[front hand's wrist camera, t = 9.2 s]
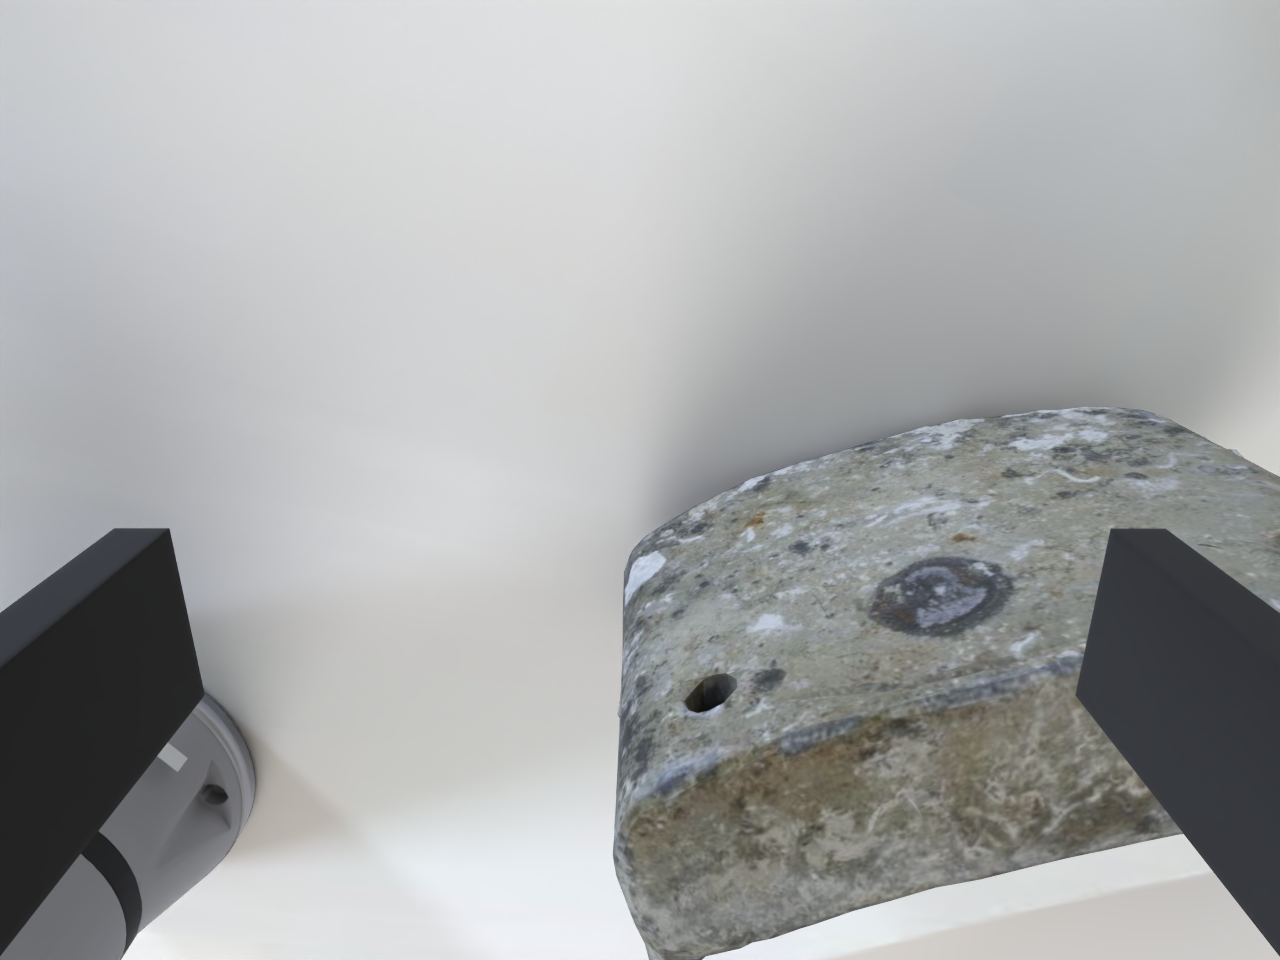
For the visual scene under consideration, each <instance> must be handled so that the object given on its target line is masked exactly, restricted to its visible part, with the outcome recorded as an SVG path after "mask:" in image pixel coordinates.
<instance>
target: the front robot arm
mask: <svg viewBox="0 0 1280 960" xmlns="http://www.w3.org/2000/svg"><path fill="white" fill-rule="evenodd" d="M1075 696H1076V697H1077V698H1078V699H1079V701H1080V702H1081V703H1082V705H1083V706H1084V707H1085V708H1086V710H1087V711H1088V712H1089V714H1090V715H1091V716H1092V717H1093V719H1094V720H1095V721H1096V722H1097V724H1098V725H1099V726H1100V728H1101V729H1102V730H1103V731H1104V733H1105V734H1106V735H1107V737H1108V738H1109V739H1110V740H1111V742H1112V743H1113V744H1114V745H1115V747H1116V748H1117V749H1118V751H1119V752H1120V753H1121V754H1122V756H1123V757H1124V758H1125V759H1126V761H1127V762H1128V763H1129V765H1130V766H1131V767H1132V768H1133V770H1134V771H1135V772H1136V774H1137V775H1138V776H1139V777H1140V779H1141V780H1142V781H1143V782H1144V784H1145V785H1146V786H1147V788H1148V789H1149V790H1150V791H1151V793H1152V794H1153V795H1154V796H1155V798H1156V799H1157V800H1158V802H1159V803H1160V804H1161V805H1162V807H1163V808H1164V809H1165V811H1166V812H1167V813H1168V814H1169V816H1170V817H1171V818H1172V819H1173V821H1174V822H1175V823H1176V825H1177V826H1178V827H1179V828H1180V830H1181V831H1182V832H1183V834H1184V835H1185V836H1186V837H1187V839H1188V840H1189V841H1190V842H1191V844H1192V845H1193V846H1194V848H1195V849H1196V850H1197V851H1198V853H1199V854H1200V855H1201V856H1202V858H1203V859H1204V860H1205V862H1206V863H1207V864H1208V865H1209V867H1210V868H1211V869H1212V871H1213V872H1214V873H1215V874H1216V876H1217V877H1218V878H1219V879H1220V881H1221V882H1222V883H1223V885H1224V886H1225V887H1226V888H1227V890H1228V891H1229V892H1230V893H1231V895H1232V896H1233V897H1234V899H1235V900H1236V901H1237V902H1238V904H1239V905H1240V906H1241V908H1242V909H1243V910H1244V911H1245V913H1246V914H1247V915H1248V916H1249V918H1250V919H1251V920H1252V922H1253V923H1254V924H1255V925H1256V927H1257V928H1258V929H1259V931H1260V932H1261V933H1262V934H1263V935H1264V937H1265V938H1266V939H1267V941H1268V942H1269V943H1270V945H1271V946H1272V947H1273V948H1274V950H1275V951H1276V952H1277V953H1278V955H1279V956H1280V613H1279V612H1278V611H1276V610H1275V609H1274V608H1272V607H1271V606H1270V605H1268V604H1267V603H1266V602H1264V601H1263V600H1262V599H1260V598H1259V597H1258V596H1256V595H1255V594H1253V593H1252V592H1251V591H1249V590H1248V589H1247V588H1245V587H1244V586H1243V585H1241V584H1240V583H1239V582H1237V581H1236V580H1235V579H1233V578H1232V577H1230V576H1229V575H1228V574H1226V573H1225V572H1224V571H1222V570H1221V569H1220V568H1218V567H1217V566H1216V565H1214V564H1213V563H1212V562H1210V561H1209V560H1207V559H1206V558H1205V557H1203V556H1202V555H1201V554H1199V553H1198V552H1197V551H1195V550H1194V549H1193V548H1191V547H1190V546H1189V545H1187V544H1186V543H1184V542H1183V541H1182V540H1180V539H1179V538H1178V537H1176V536H1175V535H1174V534H1172V533H1171V532H1170V531H1168V530H1167V529H1110V534H1109V539H1108V543H1107V548H1106V553H1105V558H1104V562H1103V567H1102V572H1101V576H1100V581H1099V586H1098V591H1097V595H1096V600H1095V605H1094V609H1093V614H1092V619H1091V624H1090V628H1089V633H1088V638H1087V643H1086V647H1085V652H1084V657H1083V661H1082V666H1081V671H1080V676H1079V680H1078V685H1077V690H1076V695H1075ZM254 796H255V775H254V769H253V764H252V760H251V757H250V754H249V751H248V749H247V746H246V744H245V742H244V740H243V738H242V736H241V735H240V733H239V731H238V729H237V728H236V726H235V725H234V724H233V722H232V721H231V719H230V718H229V717H228V716H227V714H226V713H225V712H224V711H223V710H222V709H221V708H220V707H219V706H218V705H217V704H216V703H215V702H214V701H213V700H212V699H211V698H210V697H209V696H208V695H207V694H205V693H204V690H203V685H202V680H201V676H200V671H199V666H198V661H197V657H196V652H195V647H194V643H193V638H192V633H191V628H190V624H189V619H188V614H187V609H186V605H185V600H184V595H183V591H182V586H181V581H180V576H179V572H178V567H177V562H176V558H175V553H174V548H173V543H172V539H171V534H170V529H113V530H112V531H110V532H109V533H108V534H106V535H105V536H104V537H102V538H101V539H100V540H98V541H97V542H96V543H94V544H93V545H91V546H90V547H89V548H87V549H86V550H85V551H83V552H82V553H81V554H79V555H78V556H77V557H75V558H74V559H73V560H71V561H70V562H68V563H67V564H66V565H64V566H63V567H62V568H60V569H59V570H58V571H56V572H55V573H54V574H52V575H51V576H50V577H48V578H47V579H45V580H44V581H43V582H41V583H40V584H39V585H37V586H36V587H35V588H33V589H32V590H31V591H29V592H28V593H27V594H25V595H24V596H22V597H21V598H20V599H18V600H17V601H16V602H14V603H13V604H12V605H10V606H9V607H8V608H6V609H5V610H4V611H2V612H1V613H0V960H121V959H122V957H123V955H124V954H125V952H126V951H127V949H128V948H129V946H130V945H131V943H132V941H133V940H134V938H135V937H136V935H137V934H138V933H139V932H140V931H141V930H142V929H143V928H145V927H146V926H147V925H148V924H149V923H151V922H152V921H153V920H154V919H155V918H157V917H158V916H159V915H160V914H161V913H162V912H164V911H165V910H166V909H167V908H168V907H170V906H171V905H172V904H173V903H174V902H176V901H177V900H178V899H179V898H180V897H182V896H183V895H184V894H185V893H186V892H187V891H189V890H190V889H191V888H192V887H193V886H195V885H196V884H197V883H198V882H199V881H201V880H202V879H203V878H204V877H205V876H207V875H208V874H209V873H210V872H211V871H212V870H213V869H214V868H215V867H216V866H217V865H218V864H219V863H220V862H221V861H222V860H223V858H224V857H225V856H226V855H227V854H228V852H229V851H230V849H231V848H232V846H233V845H234V843H235V841H236V839H237V838H238V836H239V834H240V833H241V831H242V829H243V827H244V826H245V824H246V822H247V820H248V817H249V815H250V812H251V809H252V806H253V801H254Z"/></svg>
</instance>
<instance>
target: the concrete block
mask: <svg viewBox="0 0 1280 960" xmlns="http://www.w3.org/2000/svg"><path fill="white" fill-rule="evenodd" d="M1110 529H1167V530H1168V531H1170V532H1171V533H1172V534H1174V535H1175V536H1176V537H1178V538H1179V539H1180V540H1182V541H1183V542H1184V543H1186V544H1187V545H1189V546H1190V547H1191V548H1193V549H1194V550H1195V551H1197V552H1198V553H1199V554H1201V555H1202V556H1203V557H1205V558H1206V559H1207V560H1209V561H1210V562H1212V563H1213V564H1214V565H1216V566H1217V567H1218V568H1220V569H1221V570H1222V571H1224V572H1225V573H1226V574H1228V575H1229V576H1230V577H1232V578H1233V579H1235V580H1236V581H1237V582H1239V583H1240V584H1241V585H1243V586H1244V587H1245V588H1247V589H1248V590H1249V591H1251V592H1252V593H1253V594H1255V595H1256V596H1258V597H1259V598H1260V599H1262V600H1263V601H1264V602H1266V603H1267V604H1268V605H1270V606H1271V607H1272V608H1274V609H1275V610H1276V611H1278V612H1279V613H1280V477H1279V476H1277V475H1275V474H1273V473H1270V472H1269V471H1267V470H1265V469H1263V468H1261V467H1260V466H1258V465H1256V464H1254V463H1252V462H1250V461H1248V460H1246V459H1244V458H1243V457H1242V455H1241V454H1240V453H1239V452H1238V451H1237V450H1229V449H1225V448H1223V447H1221V446H1219V445H1217V444H1215V443H1213V442H1211V441H1209V440H1207V439H1206V438H1205V437H1204V436H1200V435H1198V434H1196V433H1194V432H1192V431H1190V430H1188V429H1186V428H1184V427H1182V426H1181V425H1179V424H1177V423H1175V422H1173V421H1171V420H1170V419H1167V418H1164V417H1162V416H1159V415H1156V414H1153V413H1150V412H1147V411H1144V410H1134V409H1125V408H1110V407H1078V408H1070V409H1062V410H1038V411H1034V412H1030V413H1024V414H1015V415H1005V416H999V417H993V418H983V419H958V420H955V421H951V422H947V423H943V424H939V425H936V426H925V427H922V428H918V429H915V430H912V431H909V432H905V433H902V434H898V435H895V436H891V437H887V438H883V439H880V440H876V441H872V442H869V443H866V444H862V445H859V446H856V447H853V448H850V449H847V450H844V451H841V452H837V453H833V454H829V455H825V456H822V457H818V458H815V459H811V460H808V461H804V462H800V463H797V464H794V465H791V466H788V467H785V468H783V469H779V470H776V471H773V472H770V473H767V474H764V475H761V476H757V477H754V478H751V479H750V480H748V481H746V482H744V483H742V484H740V485H738V486H736V487H734V488H732V489H730V490H727V491H725V492H723V493H721V494H719V495H717V496H715V497H713V498H711V499H709V500H707V501H705V502H703V503H701V504H699V505H697V506H695V507H693V508H691V509H690V510H688V511H686V512H684V513H683V514H681V515H679V516H677V517H675V518H674V519H672V520H670V521H669V522H667V523H666V524H664V525H663V526H661V527H659V528H658V529H656V530H655V531H653V532H652V533H650V534H649V535H647V536H646V537H644V538H643V539H642V540H641V542H640V543H639V544H638V545H637V546H636V547H635V548H634V549H633V551H632V553H631V554H630V557H629V560H628V563H627V566H626V569H625V571H624V594H623V664H622V680H621V697H620V704H619V710H618V716H619V717H620V732H619V751H618V773H617V790H616V812H615V834H614V846H613V858H614V864H615V870H616V875H617V878H618V881H619V883H620V886H621V889H622V892H623V894H624V897H625V900H626V902H627V905H628V908H629V910H630V913H631V915H632V918H633V920H634V923H635V925H636V927H637V929H638V931H639V933H640V935H641V937H642V939H643V941H644V943H645V945H646V949H647V953H648V957H649V960H702V959H703V958H704V957H705V956H709V955H713V954H718V953H722V952H726V951H731V950H735V949H739V948H742V947H744V946H746V945H748V944H750V943H752V942H757V941H761V940H766V939H771V938H775V937H777V936H780V935H783V934H786V933H789V932H791V931H794V930H797V929H800V928H803V927H807V926H810V925H813V924H816V923H819V922H822V921H825V920H828V919H831V918H834V917H837V916H840V915H843V914H845V913H848V912H851V911H854V910H858V909H862V908H865V907H869V906H873V905H876V904H880V903H884V902H888V901H891V900H895V899H898V898H901V897H905V896H908V895H911V894H915V893H918V892H922V891H925V890H928V889H932V888H935V887H941V886H946V885H952V884H957V883H963V882H968V881H974V880H979V879H983V878H987V877H991V876H995V875H999V874H1003V873H1007V872H1011V871H1015V870H1019V869H1023V868H1028V867H1032V866H1036V865H1040V864H1044V863H1048V862H1052V861H1057V860H1061V859H1065V858H1069V857H1074V856H1079V855H1084V854H1089V853H1093V852H1098V851H1103V850H1108V849H1112V848H1117V847H1121V846H1126V845H1130V844H1135V843H1139V842H1144V841H1149V840H1154V839H1159V838H1164V837H1168V836H1173V835H1178V834H1183V832H1182V831H1181V830H1180V828H1179V827H1178V826H1177V825H1176V823H1175V822H1174V821H1173V819H1172V818H1171V817H1170V816H1169V814H1168V813H1167V812H1166V811H1165V809H1164V808H1163V807H1162V805H1161V804H1160V803H1159V802H1158V800H1157V799H1156V798H1155V796H1154V795H1153V794H1152V793H1151V791H1150V790H1149V789H1148V788H1147V786H1146V785H1145V784H1144V782H1143V781H1142V780H1141V779H1140V777H1139V776H1138V775H1137V774H1136V772H1135V771H1134V770H1133V768H1132V767H1131V766H1130V765H1129V763H1128V762H1127V761H1126V759H1125V758H1124V757H1123V756H1122V754H1121V753H1120V752H1119V751H1118V749H1117V748H1116V747H1115V745H1114V744H1113V743H1112V742H1111V740H1110V739H1109V738H1108V737H1107V735H1106V734H1105V733H1104V731H1103V730H1102V729H1101V728H1100V726H1099V725H1098V724H1097V722H1096V721H1095V720H1094V719H1093V717H1092V716H1091V715H1090V714H1089V712H1088V711H1087V710H1086V708H1085V707H1084V706H1083V705H1082V703H1081V702H1080V701H1079V699H1078V698H1077V697H1076V696H1075V695H1076V690H1077V685H1078V680H1079V676H1080V671H1081V666H1082V661H1083V657H1084V652H1085V647H1086V643H1087V638H1088V633H1089V628H1090V624H1091V619H1092V614H1093V609H1094V605H1095V600H1096V595H1097V591H1098V586H1099V581H1100V576H1101V572H1102V567H1103V562H1104V558H1105V553H1106V548H1107V543H1108V539H1109V534H1110Z"/></svg>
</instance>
